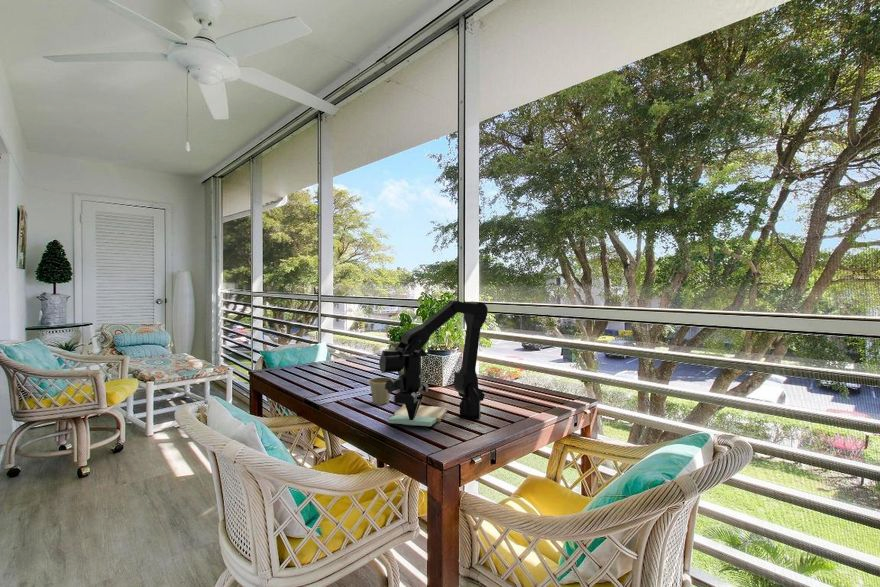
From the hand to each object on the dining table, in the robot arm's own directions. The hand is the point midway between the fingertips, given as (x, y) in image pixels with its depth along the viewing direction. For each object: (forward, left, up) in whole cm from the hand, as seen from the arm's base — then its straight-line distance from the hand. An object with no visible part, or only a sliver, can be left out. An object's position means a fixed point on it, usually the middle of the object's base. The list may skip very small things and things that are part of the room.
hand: (412, 419), depth 135 cm
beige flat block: (0, -12, -2) cm, 12 cm away
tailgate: (0, -6, -2) cm, 6 cm away
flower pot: (+19, -23, -3) cm, 30 cm away
